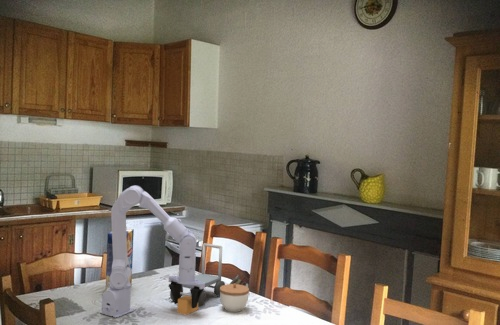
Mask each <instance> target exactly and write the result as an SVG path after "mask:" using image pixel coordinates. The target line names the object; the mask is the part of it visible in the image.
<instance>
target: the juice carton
mask: <svg viewBox="0 0 500 325" xmlns="http://www.w3.org/2000/svg"><path fill="white" fill-rule="evenodd" d="M134 231H135V230H134V228H126V234H127V257H128V260H129V266H130V268H131V270H132V271H133V257H134V256H133V255H134V235H135V234H134V233H135V232H134ZM112 263H113V246H112V230H111V231H109V232H108V233H107V244H106V268H105V269H106V271H105V291H106V290H108V289H109V287H110V281H109V278H110V275H111V273H112ZM132 280H133V274H132V275H131V277H130V279H129V282H130V283H131V286H132V285H133V284H132V282H133V281H132Z"/></svg>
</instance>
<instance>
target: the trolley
mask: <svg viewBox="0 0 500 325" xmlns="http://www.w3.org/2000/svg"><path fill="white" fill-rule="evenodd" d="M207 247H208V248H211V249H218V251H219V252H218V270H217V271H218V272H217V273H218V274H217V275H213V274H208V273H205V269H206V251H207V250H206V248H207ZM201 254H202V258H201V273H200V274H199V273H198V274H197V275H195V279H196V280H198V281H201V282H204V283H205V288H210V289H213V294H214V296H216V297H219V298H220V287H221V286H223V285H226V283H225V281H223V280H222V268H223V267H222V264H223V262H222V261H223V246H222V245H218V244H211V243H205V242H204V243H203V244H202V253H201ZM214 284H215V285H214ZM184 288H186V289H189V290H190V289H192V288H194V287H192V286H187V285H183V284H182V287H181V292H180V298H181V297H183V296H189V297H191V293H186V292H184ZM169 297H170V299H171V300H173V301H174V299H173V295H172V292H171V290H170V292H169ZM206 297H207V296H206V291H205V289H204V290H203V292H202V293H201V295H200V298H199V300H198V307H201V306H202V305H203V304H204V303H205V300H206Z"/></svg>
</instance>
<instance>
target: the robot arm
mask: <svg viewBox="0 0 500 325" xmlns="http://www.w3.org/2000/svg"><path fill="white" fill-rule="evenodd" d="M138 204H139V205H138ZM137 205H138V207H139V208H142V209H147V210H148V211H149V212H150V213H151V214H153V215H154V216H155V217H156V218H157V219H158V220H159V221H160V222H161V223H162V224H163V230H164V231H165V232H166V233H167V234H168V235H169V236H170V237H171V238H172V239H173V240H174V241H175V242H177V243H179V248H180V253H179V259H178V276H177V275H171V276H168V283H169V284H168V289H169V290H170V291H171V292H172V295H173V299H174V300H173V303H174V305H178V299H179V298H180V292H181V287H182V284H183V285H187V286H192V287H194V288H192V289H189V291H190V294H191V298H192V304H191V306H192V308H196V307H197V304H198V300H199V298H200V295H201V293H202V292H203V290H204V291H205V289H206V287H205V283H204V282H201V281H198V280H196V279H195V276H196V259H197V258H196V257H197V256H196V253H197V252H196V250H197V249H196V247H197V237H196V235H195V234H194V232H192V231H191V229H190V228H187V227H186V226H185V225H184V224H183V223H182V220H181V218H177V217H171V216H170V215H169V214H168V213H167V212H166V211H165V210H164V209H163V207H162V206H161V205H159V203H158V202H157V201H156V200H155V198H153V197H152V195H150V194H149V193H148V192H147V191H145V190H144V189H143V188H142V187H141V186H140V185H135V184H134V185H131V186H129V187H128V188H126V189H124V190H123V191H122V192H121V193H119V195H118V197H117V198H116V200H115V202H114V203H113V205H112V207H111V209H110V214H111V231H112V246H113V263H112V273H111V275H110V278H109V281H110V287H109V289H108V290H106V289H105V291H103V293H102V296H101V310H100V311H99V313H100V314H103V315H106V316H108V317H109V316H110V317H112V316H113V317H112V318H116V317H117V318H119V316H120V317H121V316H122V317H123V316H125V315H127V314H129V313H132V312H134V311H136V308H135V307H131V297H132V296H131V295H132V294H131V293H132V292H131V291H132V285H131V283H130V282H129V279H130V277H131V275H132V276H133V269H132V270H131V268H130V266H129V260H128V257H127V234H126V229H127V215H126V214H127V213H128V211H129V210H130V209H131V208H133V207H135V206H137Z"/></svg>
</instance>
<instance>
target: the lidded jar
mask: <svg viewBox="0 0 500 325" xmlns="http://www.w3.org/2000/svg"><path fill="white" fill-rule="evenodd" d="M249 292H250V288H249V286H248V287H246V286H244V285H239V284H235V283H234V284H230V283H227V284H225V285H223V286H221V287H220V297H219V299H220V303H221V305H222V307H223V308H225V309H224V310H226V312H231V313H239V312H241V311H242V310H243V309H244V308H245V307H246V305H247V303H248V301H249Z"/></svg>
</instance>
